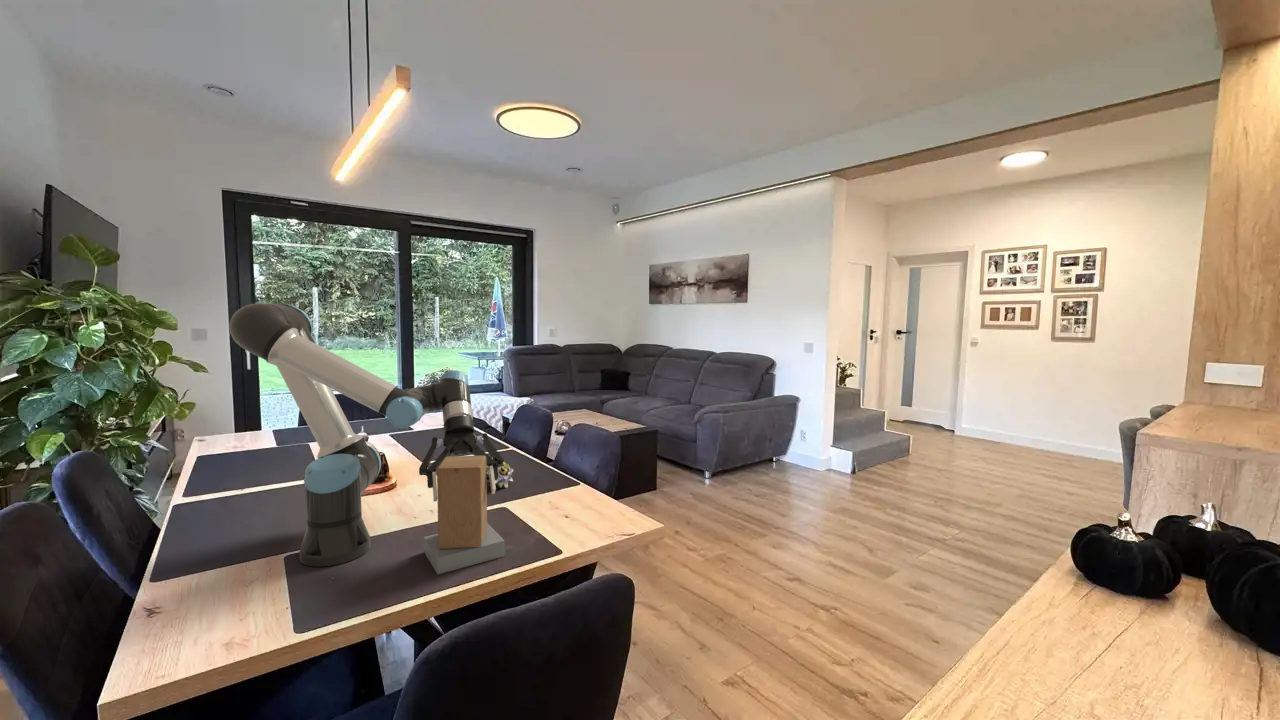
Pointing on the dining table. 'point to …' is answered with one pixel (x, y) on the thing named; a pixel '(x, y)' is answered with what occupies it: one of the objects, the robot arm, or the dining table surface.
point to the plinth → (463, 552)
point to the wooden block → (462, 502)
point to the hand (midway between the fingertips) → (465, 495)
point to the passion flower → (502, 475)
